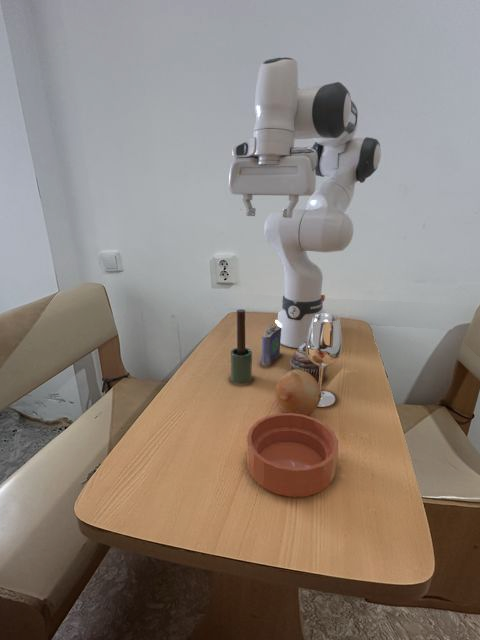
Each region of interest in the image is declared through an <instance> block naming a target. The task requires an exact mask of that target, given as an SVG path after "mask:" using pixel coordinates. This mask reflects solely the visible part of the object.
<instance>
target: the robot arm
mask: <svg viewBox="0 0 480 640" xmlns="http://www.w3.org/2000/svg"><path fill="white" fill-rule="evenodd" d="M298 68H299V67H298V62H297V60H295V59H294V58H291V57H275V58H270V59H266V60H265V61H263V62H262V63H261V64H260V66H259V69H258V73H257V78H256V84H255V94H254V95H255V96H254V97H255V98H254V113H255V124H254V126H253V135H252V137H250V138H249V139H246V140H244V141H243V142H241V143H239V144H236V145H234V146H233V147H232V150H231V155H232V157H233V158H234V159H233V160H232V161H231V163H230V167H229V176H228V177H229V178H228V189H229V192H230V193H231V194H232V195H235V196H236V195H237V196H242V202H243V204H244V206H245V208H246V210H245V211H246V213H245V214H246V217H256V211H257V209H256V207H253V205H252V202H251V201H253V196H287V197H288V201H290V202H289V204H288V205H287V207H286V208H283V209H280V210H275V211H272V212H270V214H268V216H267V217H266V220H265V222H264V226H263V234H264V237H265V240H266V242H267V243H268V244H269V245H270V246H271V247H272V248H273V249H274V250H275V252H276V254H277V256H278V257H279V259H280V262H281V264H282V268H283V274H284V277H283V278H284V290H283V291H284V293H283V296H282V300H281V304H282V305H281V307H282V309H281V310H280V311H278V313H277V319H275V321H274V323H275V325H276V326H278V327H281V340H280V345H283V346H285V347H289V348H294V349H298V348H299V347H300V346H302V345H303V344H304V342H306V339H307V335H308V332H309V328H310V325H311V322H312V319H313V316H314V315H316V314H320V313H327V312H326V311H325V310H324V309H323V308H324V306H323V305H324V301H325V300H326V296H325V294H322V292H323V291H322V289H323V279H324V278H323V277H324V275H323V271H322V269H321V268H320V267H319V266H318V265H317V264H316V263H314V262H312V260H311V259H310V257H309V256H308V252H316V253H325V254H326V253H335V252H343V251H344V250H345V249H347V247H349V245H350V243H351V241H352V240H353V237H354V233H355V232H354V223H353V221H352V219H351V217H350V216H349V215H348V214H347V213H345V212H346V211H347V210H348V208H349V207H350V205H351V202H352V200H353V198H354V194H355V186H356V184H357V182H359V183H361V184H363V183H364V182H365V181H366V179H368V178H369V177H371V176H372V175H373V174H374V173H375V172H376V171H377V170H378V167H379V165H380V162H381V159H382V149H381V143H380V141H379V140H378V139H377V138H373V137H368V136H366V137H354V136H355V135H356V133H357V131H358V126H359V122H358V116H359V115H358V114H359V113H358V108H357V105H356V104H355V103H354V101H353V100H352V98H351V94H350V92H349V90H348V88H347V87H346V86H345V85H344V84H343V83H342V82H340V81H335V82H332V83H331V82H330V83H327V84H324V85H318V86H312V87H305V88H303V87H302V88H300V87H299V69H298ZM309 139H312V141H314V144H313V145H312V147H311V146H306V147H305V146H304V147H299V146H298V147H295V140H309ZM317 177H322V178H324V177H329V178H328V179H327V180H326V181H324V182H323V183H322V184H321V185H320V186H319V187H318V188H317V186H316V184H317ZM300 196H301V197H309V198H308V200H307V201H306V205H305V209H299V208H296V209H295V207H296V206H297V205H298V203H299V200H300V199H299V197H300Z"/></svg>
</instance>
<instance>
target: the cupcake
mask: <svg viewBox="0 0 480 640" xmlns="http://www.w3.org/2000/svg"><path fill="white" fill-rule="evenodd" d="M305 346H306V342H304V344H303V345H302V346H300V347H299V348H296V350H295V351H294V353H293V356H291V357H290V369H291V370H290V371H292V370H296V369H300V370H304V371H306V372H308V373H310V374H311V375H312V376H313V377H314V378H315V379H316V381H317V383H319V366H317V365H315V364H313V363H312V362H311V361H310V360H309V358H308V357H307V355H306V350H305ZM328 367H329V366H327V367H324V370H323V375H322V381H323V380H324V378H325V375H326V372H327V369H328Z"/></svg>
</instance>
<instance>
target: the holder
mask: <svg viewBox="0 0 480 640" xmlns="http://www.w3.org/2000/svg"><path fill="white" fill-rule="evenodd" d="M252 379H253V352H252V349H250V348H248V347H245V355H237V347H235V348H233V349H231V350H230V380H231V381H232V382H233V383H236V384H247V383H249V382H251V381H252Z"/></svg>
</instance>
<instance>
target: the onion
mask: <svg viewBox="0 0 480 640" xmlns="http://www.w3.org/2000/svg"><path fill="white" fill-rule="evenodd" d="M321 391H322V389H321V390H320V387H319V385H318V383H317V381H316V379H315V378H314V377H313V376H312V375H311V374H310V373H308V372H306V371H304V370H300V369H296V370H290V371H288V372H287V373H285V374H284V375H283V376H281V378H280V379H279V380H278V382H277V384H276V386H275V389H274V394H275V400H276V403H277V405H278V407H279V408H280V409H281V410H282V411H283V412H284V413H295V414H302V415H306V416H308V415H309V414H310V413H312V412H314V411H315V410H316V409H317V408H318V407H317V406H318V404H319V402H320V399H321Z"/></svg>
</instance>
